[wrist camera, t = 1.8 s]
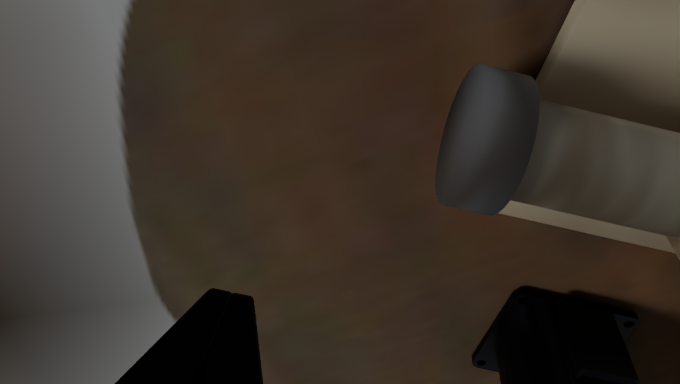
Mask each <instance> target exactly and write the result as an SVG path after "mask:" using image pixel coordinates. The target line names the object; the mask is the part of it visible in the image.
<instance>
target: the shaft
mask: <svg viewBox="0 0 680 384" xmlns="http://www.w3.org/2000/svg"><path fill="white" fill-rule="evenodd" d="M436 194H437V198H438V201H439V202H440V204H442V205H446V206H450V207H455V208H459V209H464V210H468V211H473V212H477V213H481V214H486V215H495V214H497V213H499V212H500V211H501V210H502V209H504V208H505V206H506V205H507V204H508V203H509V201H510V200H511V201H516V202H520V203H524V204H529V205H533V206H538V207H542V208H546V209H551V210H555V211H559V212H564V213H568V214H573V215H577V216H581V217H586V218H590V219H594V220H599V221H603V222H608V223H612V224H616V225H621V226H625V227H629V228H634V229H638V230H643V231H647V232H651V233H656V234H660V235H664V236H669V237H673V238H678V239H680V133H678V132H674V131H670V130H665V129H661V128H657V127H653V126H649V125H645V124H640V123H636V122H632V121H628V120H624V119H619V118H615V117H611V116H607V115H603V114H599V113H594V112H590V111H586V110H582V109H578V108H574V107H569V106H565V105H561V104H557V103H553V102H548V101H544V100H540V99H539V92H538V87H537V84H536V82H535V80H534V79H533V78H532V77H531V76H529V75H525V74H521V73H517V72H513V71H508V70H504V69H500V68H496V67H492V66H488V65H484V64H476V65H474V66H473V67H472V68H471V69H470V70H469V72H468V73H467V75H466V76H465V78H464V80H463V81H462V83H461V85H460V87H459V89H458V91H457V94H456V96H455V98H454V101H453V104H452V106H451V109H450V112H449V115H448V118H447V121H446V125H445V128H444V132H443V136H442V140H441V145H440V150H439V155H438V162H437V170H436Z"/></svg>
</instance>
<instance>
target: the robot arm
mask: <svg viewBox="0 0 680 384" xmlns="http://www.w3.org/2000/svg"><path fill="white" fill-rule="evenodd" d="M639 325H640V321H639V319H638V316H637V315H636V313H634V312H631V311H626V310H622V309H617V308H612V307H608V306H603V305H599V304H594V303H590V302H585V301H581V300H576V299H572V298H567V297H562V296H558V295H553V294H549V293H544V292H540V291H535V290H531V289H526V288H520V289H517V290H514V291H513V292H512V294H511V295H510V297H509V298H508V300H507V302H506V303H505V305H504V306H503V308H502V309H501V311H500V312H499V314H498V316H497V317H496V319H495V320H494V322H493V323H492V325H491V326H490V328H489V330H488V331H487V333H486V334H485V336H484V337H483V339H482V340H481V342H480V344H479V345H478V347H477V348H476V350H475V351H474V353H473V354H472V363H473V365H474V366H475V367H478V368H482V369H486V370H491V371H496V372H499V375H500V381H501V384H640V381H639V379H638V376H637V374H636V371H635V369H634V366H633V363H632V361H631V358H630V356H629V353H628V350H627V348H626V345H625V343H624V341H625V340H626V339H627V338H628V337H629V336H630V335H631V334H632V333H633V332H634V331H635V330H636V329H637V328H638V327H639ZM115 384H263V378H262V369H261V360H260V351H259V342H258V333H257V324H256V315H255V306H254V299H253V298H252V297H251V296H248V295H243V294H239V293H233V294H232V293H231V292H229V291H225V290H220V289H215V288H212V289H210V290H208V291H207V292H206V293H205V294H204V295H203V296H202V297H201V298H200V299H199V300H198V301H197V302H196V303H195V304H194V305H193V306H192V307H191V308H190V309H189V310H188V311H187V312H186V313H185V314H184V315H183V316H182V317H181V318H180V319H179V320H178V321H177V322H176V323H175V324H174V325H173V326H172V327H171V328H170V329H169V330H168V331H167V332H166V333H165V334H164V335H163V336H162V337H161V338H160V339H159V340H158V341H157V342H156V343H155V344H154V345H153V346H152V347H151V348H150V349H149V350H148V351H147V352H146V353H145V354H144V355H143V356H142V357H141V358H140V359H139V360H138V361H137V362H136V363H135V364H134V365H133V366H132V367H131V368H130V369H129V370H128V371H127V372H126V373H125V374H124V375H123V376H122V377H121V378H120V379H119V380H118V381H117V382H116V383H115Z"/></svg>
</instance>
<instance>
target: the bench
mask: <svg viewBox="0 0 680 384" xmlns="http://www.w3.org/2000/svg"><path fill="white" fill-rule="evenodd" d="M535 82H536V84H537V87H538V92H539V99H540V100H544V101H548V102H553V103H557V104H561V105H565V106H569V107H574V108H578V109H582V110H586V111H590V112H594V113H599V114H603V115H607V116H611V117H615V118H619V119H624V120H628V121H632V122H636V123H640V124H645V125H649V126H653V127H657V128H661V129H665V130H670V131H674V132H678V133H680V0H575V1H574V3H573V5H572V7H571V9H570V11H569V13H568V15H567V17H566V20H565V22H564V24H563V26H562V28H561V30H560V32H559V34H558V36H557V38H556V40H555V42H554V44H553V46H552V48H551V50H550V52H549V54H548V56H547V58H546V60H545V62H544V64H543V66H542V68H541V71H540V73H539V75H538V77H537V79H536V81H535ZM499 213H500V214H505V215H509V216H514V217H518V218H522V219H527V220H531V221H536V222H540V223H544V224H549V225H553V226H558V227H562V228H566V229H571V230H575V231H580V232H584V233H588V234H593V235H597V236H602V237H606V238H610V239H615V240H619V241H624V242H628V243H632V244H637V245H641V246H646V247H650V248H654V249H659V250H663V251H668V252H672V253H676V255H677V256H678V258H679V260H680V239H678V238H673V237H669V236H664V235H660V234H656V233H651V232H647V231H643V230H638V229H634V228H629V227H625V226H621V225H616V224H612V223H608V222H603V221H599V220H594V219H590V218H586V217H581V216H577V215H573V214H568V213H564V212H559V211H555V210H551V209H546V208H542V207H538V206H533V205H529V204H524V203H520V202H516V201H511V200H510V201H509V203H508V204H507V205H506V206H505V208H504V209H502V210H501V211H500V212H499Z"/></svg>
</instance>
